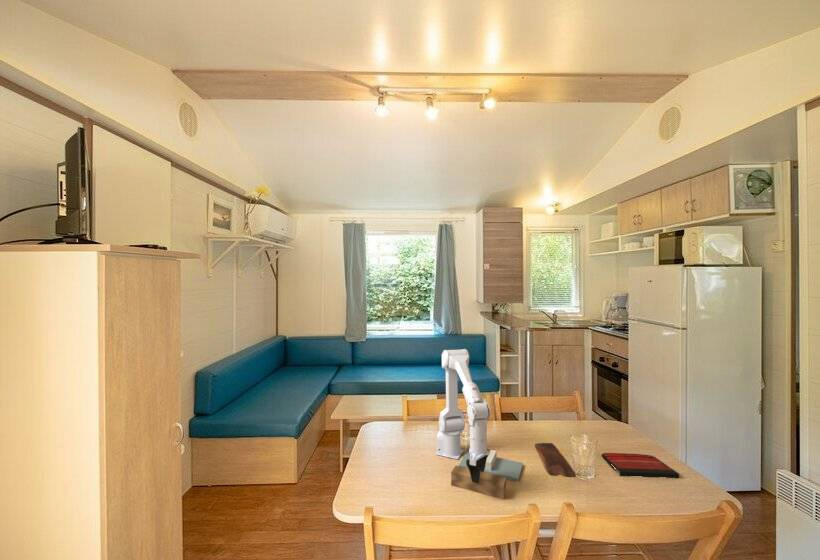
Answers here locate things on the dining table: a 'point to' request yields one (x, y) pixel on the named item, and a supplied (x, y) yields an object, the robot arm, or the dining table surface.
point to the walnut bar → (486, 484)
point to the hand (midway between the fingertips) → (478, 476)
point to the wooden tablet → (554, 460)
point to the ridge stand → (498, 466)
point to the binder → (639, 465)
